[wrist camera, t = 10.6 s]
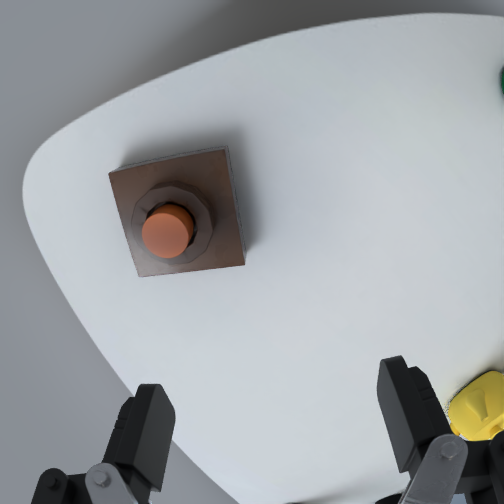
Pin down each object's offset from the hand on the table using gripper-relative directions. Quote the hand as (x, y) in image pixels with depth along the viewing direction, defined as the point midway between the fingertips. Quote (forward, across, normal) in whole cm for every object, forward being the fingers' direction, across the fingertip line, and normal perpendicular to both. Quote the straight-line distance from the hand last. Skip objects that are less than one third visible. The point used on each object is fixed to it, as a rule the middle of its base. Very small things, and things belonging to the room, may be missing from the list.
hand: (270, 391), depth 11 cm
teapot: (+20, -30, +35) cm, 50 cm away
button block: (+19, +7, -2) cm, 21 cm away
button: (+16, +7, -1) cm, 17 cm away
